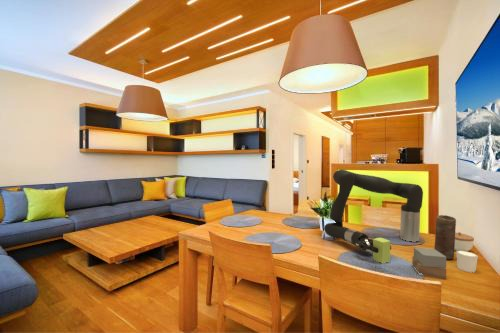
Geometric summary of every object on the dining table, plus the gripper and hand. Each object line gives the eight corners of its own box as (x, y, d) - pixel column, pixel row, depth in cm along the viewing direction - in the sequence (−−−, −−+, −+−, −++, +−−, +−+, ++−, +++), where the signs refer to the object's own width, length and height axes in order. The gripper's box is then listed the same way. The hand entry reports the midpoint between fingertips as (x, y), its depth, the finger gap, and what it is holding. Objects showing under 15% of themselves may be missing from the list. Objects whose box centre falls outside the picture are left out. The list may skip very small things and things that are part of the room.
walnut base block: (412, 266, 101) (412, 256, 101) (436, 269, 98) (437, 259, 98) (418, 275, 93) (419, 265, 93) (445, 280, 89) (446, 269, 89)
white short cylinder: (466, 265, 101) (466, 250, 101) (482, 273, 94) (482, 256, 94) (451, 265, 101) (451, 250, 101) (466, 273, 94) (467, 257, 94)
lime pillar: (372, 259, 107) (373, 238, 107) (380, 257, 109) (380, 237, 108) (382, 264, 102) (382, 242, 102) (389, 262, 104) (390, 241, 104)
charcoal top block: (413, 257, 100) (413, 247, 100) (434, 259, 98) (434, 249, 98) (423, 266, 92) (423, 255, 92) (446, 268, 90) (446, 257, 90)
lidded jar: (459, 246, 124) (459, 229, 123) (479, 254, 113) (480, 235, 113) (440, 246, 123) (440, 229, 123) (458, 254, 113) (459, 236, 112)
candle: (455, 257, 109) (456, 216, 108) (453, 262, 104) (455, 219, 103) (435, 252, 115) (436, 214, 114) (432, 257, 110) (434, 216, 109)
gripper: (345, 232, 116) (373, 243, 101) (365, 229, 121) (395, 239, 107) (345, 247, 116) (373, 260, 101) (365, 243, 122) (394, 254, 107)
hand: (384, 249), depth 104 cm, fingers open, 8 cm apart
